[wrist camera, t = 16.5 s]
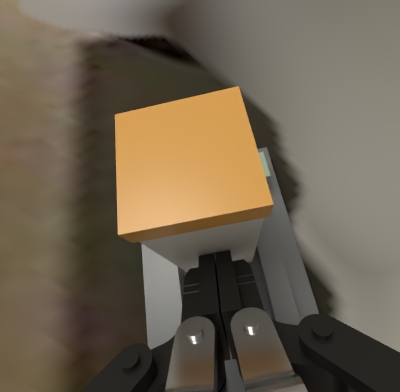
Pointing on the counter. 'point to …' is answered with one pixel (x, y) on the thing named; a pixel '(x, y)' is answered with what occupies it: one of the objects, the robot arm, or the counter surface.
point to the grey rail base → (262, 270)
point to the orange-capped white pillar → (191, 178)
